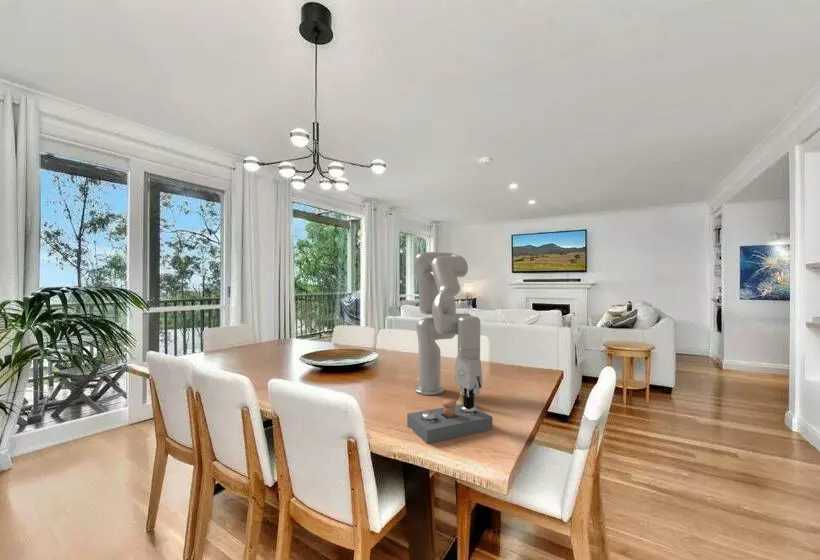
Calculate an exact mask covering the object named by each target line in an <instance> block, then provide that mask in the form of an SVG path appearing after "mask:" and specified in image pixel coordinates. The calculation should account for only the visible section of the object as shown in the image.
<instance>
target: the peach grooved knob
mask: <svg viewBox="0 0 820 560" xmlns="http://www.w3.org/2000/svg"><path fill="white" fill-rule="evenodd" d="M456 403H457V401H456V400H455V399H452V398H451V399H450V398H446V399H442V406H443V407H444V417H445V418H447V419H449V418H454V417H455V406H456Z"/></svg>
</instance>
